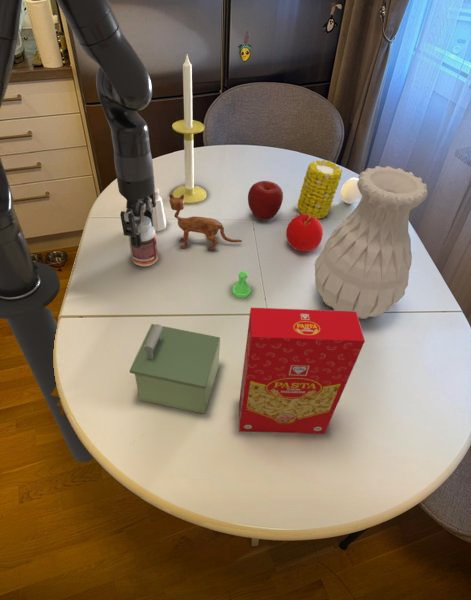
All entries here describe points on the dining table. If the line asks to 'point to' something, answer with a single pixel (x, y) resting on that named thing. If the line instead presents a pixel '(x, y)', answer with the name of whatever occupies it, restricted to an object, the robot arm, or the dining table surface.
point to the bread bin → (177, 391)
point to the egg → (350, 191)
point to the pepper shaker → (158, 213)
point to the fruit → (304, 232)
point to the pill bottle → (145, 245)
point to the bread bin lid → (176, 356)
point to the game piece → (241, 286)
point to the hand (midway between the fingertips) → (142, 236)
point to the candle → (188, 141)
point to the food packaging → (296, 368)
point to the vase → (371, 245)
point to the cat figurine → (197, 224)
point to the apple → (265, 199)
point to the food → (319, 188)
